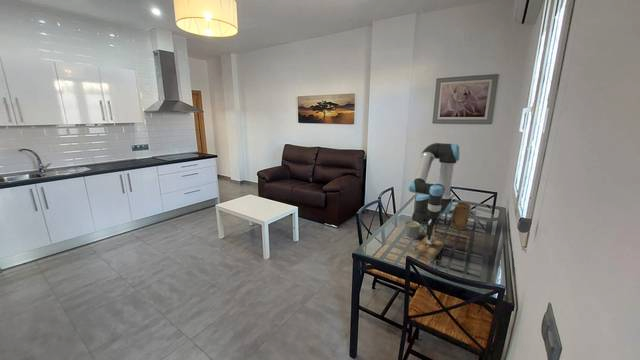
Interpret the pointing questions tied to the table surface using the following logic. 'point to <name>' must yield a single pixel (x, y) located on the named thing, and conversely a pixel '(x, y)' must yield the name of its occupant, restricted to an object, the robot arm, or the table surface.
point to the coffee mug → (412, 229)
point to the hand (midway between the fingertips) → (430, 242)
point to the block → (460, 216)
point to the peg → (432, 237)
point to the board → (429, 248)
